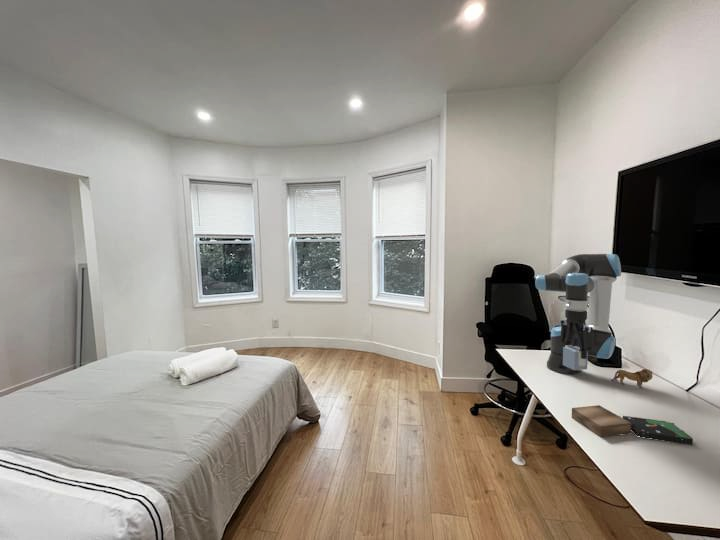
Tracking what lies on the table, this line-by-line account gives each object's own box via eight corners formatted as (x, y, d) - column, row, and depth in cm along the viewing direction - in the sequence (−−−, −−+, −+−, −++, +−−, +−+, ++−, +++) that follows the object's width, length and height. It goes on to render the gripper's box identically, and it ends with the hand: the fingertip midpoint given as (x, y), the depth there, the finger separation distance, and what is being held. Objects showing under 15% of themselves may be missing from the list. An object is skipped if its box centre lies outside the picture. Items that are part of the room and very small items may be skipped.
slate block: (562, 364, 127) (563, 347, 126) (575, 363, 127) (575, 346, 127) (574, 370, 121) (574, 351, 120) (587, 369, 121) (587, 350, 121)
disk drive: (637, 439, 100) (694, 446, 95) (637, 431, 100) (694, 438, 95) (621, 422, 110) (672, 428, 105) (621, 415, 110) (672, 421, 105)
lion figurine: (650, 386, 136) (651, 368, 135) (653, 391, 131) (654, 372, 131) (609, 379, 144) (610, 362, 143) (611, 384, 140) (612, 365, 139)
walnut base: (571, 417, 113) (571, 407, 112) (599, 415, 114) (599, 405, 114) (600, 437, 101) (600, 426, 101) (630, 433, 102) (631, 423, 102)
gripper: (550, 305, 132) (550, 355, 133) (588, 314, 113) (586, 372, 114) (565, 305, 132) (564, 354, 134) (605, 313, 114) (603, 370, 115)
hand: (574, 362), depth 124 cm, fingers closed on slate block, 6 cm apart
